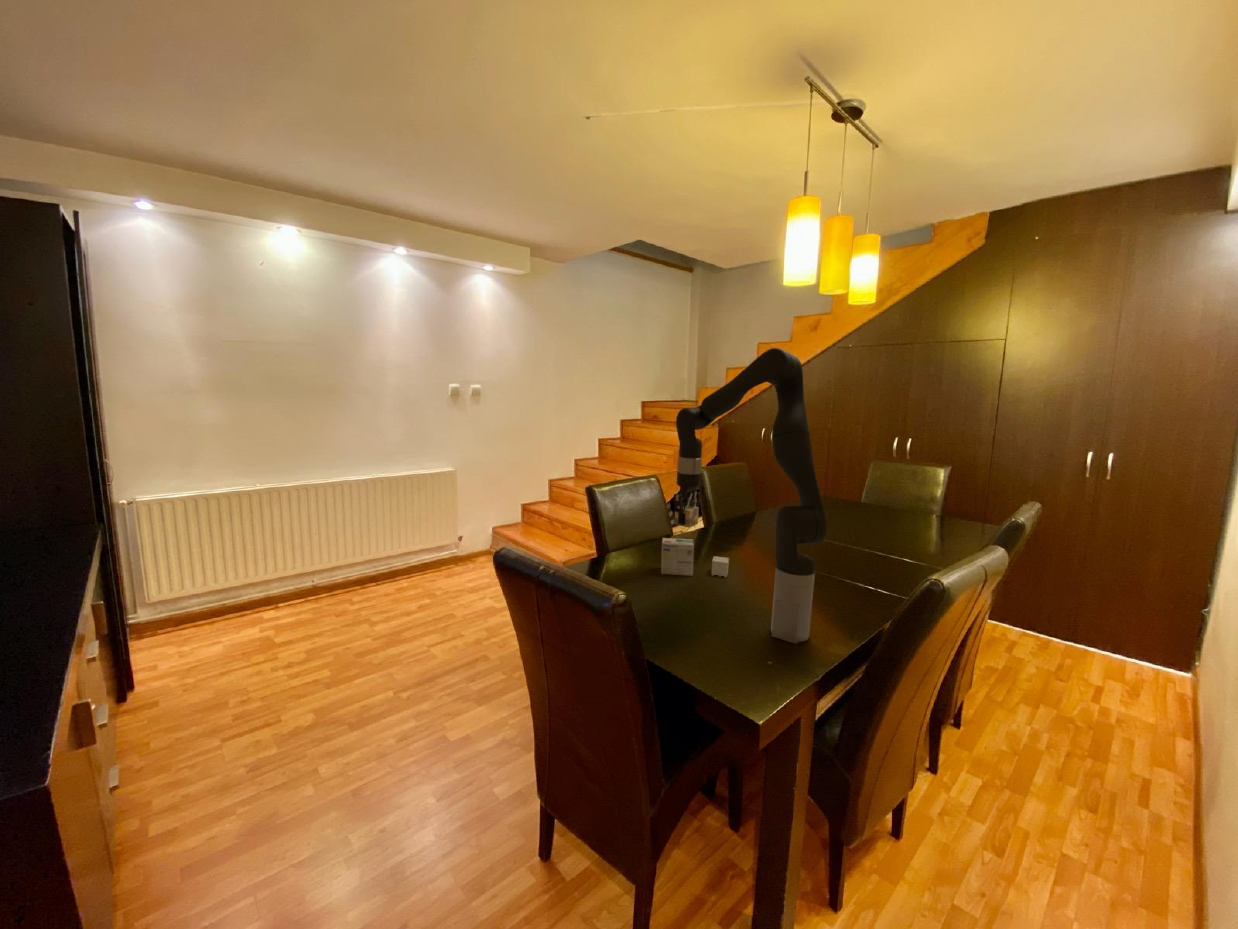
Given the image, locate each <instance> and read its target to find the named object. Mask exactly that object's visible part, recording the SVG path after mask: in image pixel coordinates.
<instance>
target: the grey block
mask: <svg viewBox="0 0 1238 929" xmlns="http://www.w3.org/2000/svg"><path fill="white" fill-rule="evenodd" d="M729 560H730V558H729V557H725V556H724V557H723V556H722V557H721V556H715V555H714V556H713V558H712V563H711V576H714V575H718V576H717V577H721V576H724V577H723V578H727V577H728V574H729V565H730V564H729Z"/></svg>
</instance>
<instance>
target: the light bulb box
mask: <svg viewBox="0 0 1238 929" xmlns="http://www.w3.org/2000/svg"><path fill="white" fill-rule="evenodd" d="M694 545H695V544H694V539H691V538H690V539H689V538H670V537H669V538H666V537H662V540H661V556H660V557H661V559H660V560H661V561H660V564H661V565H660V566H661V567H660V574H661V575H671V576H672V575H674V576H676V575H677V576H690V577H691V576H692V577H693V574H694V554H695V553H694V550H695V546H694Z"/></svg>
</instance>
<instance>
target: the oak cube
mask: <svg viewBox="0 0 1238 929" xmlns="http://www.w3.org/2000/svg"><path fill="white" fill-rule="evenodd" d="M699 508H700V506H699V507H693V506H689V507H687V509H686V513H685V514H686V515H685V525H680V524H678V512H675V511H674V521H673V522H674V525H676V526H680V527H685V528H688V529H690V528H692V527H695V526H697V525H698V524H699ZM683 509H684V506H683Z"/></svg>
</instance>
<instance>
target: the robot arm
mask: <svg viewBox="0 0 1238 929" xmlns="http://www.w3.org/2000/svg"><path fill="white" fill-rule="evenodd" d="M764 383H768V384H770V385H773V386H774V388H775V391H776V392H775V393H776V397H777V406H778V408H777V413H776V416H775V419H774V423H773V425H772V430H771V438H772V447H773V452H774V453H773V454H774V457H775V458H774V459H775V460H776V462H777V464H778V465H779V467H780V468H781V470H782V471H783V472H784V473H785V474H786V476H787V477H788V478H789V480H790V481H791V482H792V484H793V485H794V487H795V488H796V491H797V494H798V497H799V500H800V504H801V505H786V506H782V507H781V508H780V509H779V510H778V511H777V515H776V520H775V548H774V552H775V554H774V555H775V560H776V561H775V576H774V586H773V587H774V588H773V598H772V612H771V625H770V632H771V637H773V638H775V639H779V640H783V641H786V642H789V643H792V644H795V645H796V644H798V643H803V642H805V641H808V639H809V638H810V630H811V620H812V608H813V607H812V606H813V596H814V586H815V585H814V584H815V576H816V567H817V566H816V560H814V559H815V558H812V557H811V556H809V555H807V554H804V553H802V552H800V551H798V544H819V543H821V542H824V540H825V538H826V536H827V531H828V524H827V516H826V512H825V508H824V504H823V499H822V496H821V492H820V489H819V488H820V487H819V484H818V480H817V474H816V470H815V469H816V468H815V463H814V462H815V461H814V455H813V447H812V442H811V440H812V439H811V434H810V430H809V424H808V416H807V408H806V404H805V396H804V395H805V394H804V370H803V365H802V362H801V360H800V359H799V358H798V357H797V356H796V355H794V354H792V353H790V352H789V351H787V350H785V349H783V348H780V347H772V348H769V349H767V350H765V351H764V352H763V353H761V354H760V355H759V356H757V357H756V359H754V360H753V361H752V362H751V363H750V364H749V365H748V366H747V367H746V368H744V369H743V370H742V371H741V372H739V373H738V374H737V375H736V376H735V377H734V378H732V379H731V380H730V381H729V382H727V383H726V384H724V385H723V386H721V387H720V388H718V389H717V390H715V391H714V392H712V393H710V394H709V395H707V396H706V397H705V398H703V400H702V401H701V404H700V405H698V406H696V407H695V406H694V407H684V408H682V409H680V410H679V411H678V413H677V415H676V419H675V426H676V427H675V428H676V431H677V432H676V433H677V437H678V442H679V448H678V449H679V450H678V452H679V453H678V460H677V468H676V469H677V470H676V472H677V474H676V485H677V486H678V487H679V490H678V491H679V492H678V493H673V506H674V507H673V508H674V509H673V510H674V513H675V512H678V524H680V525H685V515H686V514H685V513H686V509H687V507H689V506H693V507H699V508H700V502H701V494H702V488H700V486H701V483H702V467H703V466H702V456H703V455H702V454H703V452H702V451H703V442H702V440H701V439H700V438H698V437H697V435H696V431H699V430H702V429H704V428H706V427H708V426H709V425H710V424H712V423H713V422H714V421H716V419H717V418H719V417H720V416H723V415H724V414H726V413H728V412H730V411H732V410H733V409H734V408H736V407H738V405H739V404H740V403H741V402H742V400H743V398H744V397H745V395H746V394H747V393H748V392H749V391H750V390H752V389H753V388H755V387H758V386H759V385H762V384H764ZM683 506H684V509H683ZM680 525H679V526H680Z"/></svg>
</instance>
